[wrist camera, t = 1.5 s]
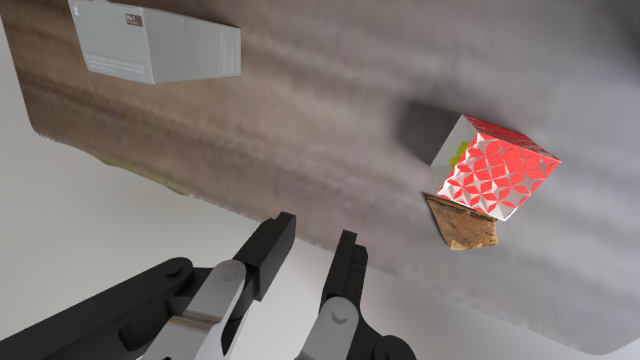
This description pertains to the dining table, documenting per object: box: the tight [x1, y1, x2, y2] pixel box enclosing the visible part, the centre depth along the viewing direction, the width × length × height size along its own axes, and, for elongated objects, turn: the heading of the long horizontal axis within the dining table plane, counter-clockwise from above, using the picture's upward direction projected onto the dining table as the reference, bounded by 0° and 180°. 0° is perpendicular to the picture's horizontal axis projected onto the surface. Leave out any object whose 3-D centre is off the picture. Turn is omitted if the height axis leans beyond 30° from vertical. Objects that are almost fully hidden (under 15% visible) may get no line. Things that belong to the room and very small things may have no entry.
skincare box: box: [68, 0, 241, 85], centre depth 29 cm, size 8×7×16 cm
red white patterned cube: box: [430, 114, 561, 221], centre depth 28 cm, size 8×8×8 cm
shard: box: [426, 197, 498, 250], centre depth 36 cm, size 11×8×2 cm
